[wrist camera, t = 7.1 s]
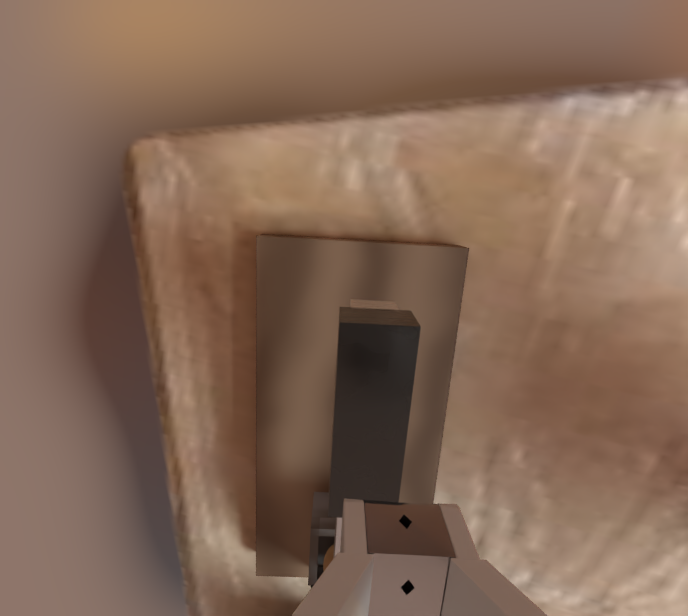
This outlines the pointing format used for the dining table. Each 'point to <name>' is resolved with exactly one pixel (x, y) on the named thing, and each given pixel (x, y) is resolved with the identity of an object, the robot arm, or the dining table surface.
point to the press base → (319, 377)
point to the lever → (371, 403)
